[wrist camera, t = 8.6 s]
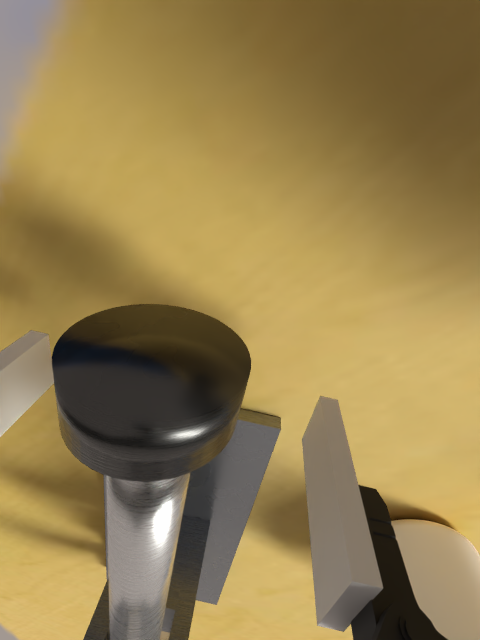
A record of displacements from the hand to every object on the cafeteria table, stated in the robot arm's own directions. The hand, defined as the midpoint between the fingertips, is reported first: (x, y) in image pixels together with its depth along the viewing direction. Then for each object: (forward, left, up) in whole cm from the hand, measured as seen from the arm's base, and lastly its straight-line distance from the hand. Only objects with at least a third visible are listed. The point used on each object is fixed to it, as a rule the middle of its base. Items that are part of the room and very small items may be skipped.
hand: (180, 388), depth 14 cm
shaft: (+7, 0, +1) cm, 7 cm away
